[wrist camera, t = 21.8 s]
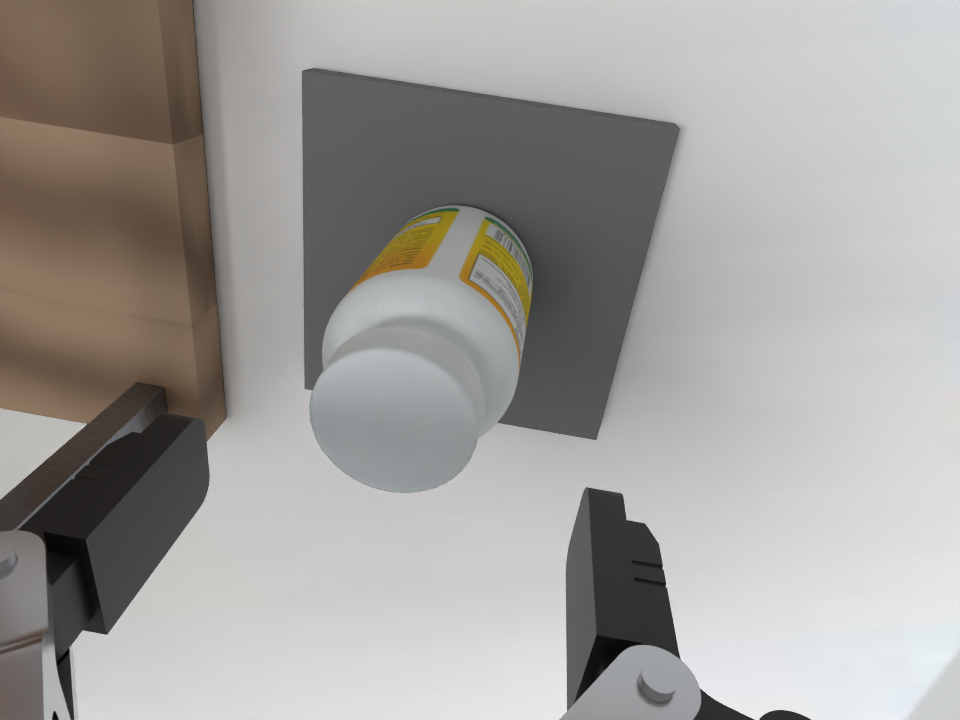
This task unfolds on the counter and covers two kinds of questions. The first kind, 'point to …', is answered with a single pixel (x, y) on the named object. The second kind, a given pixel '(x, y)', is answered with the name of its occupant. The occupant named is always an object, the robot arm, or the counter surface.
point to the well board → (104, 210)
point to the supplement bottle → (424, 351)
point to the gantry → (82, 451)
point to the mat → (500, 192)
